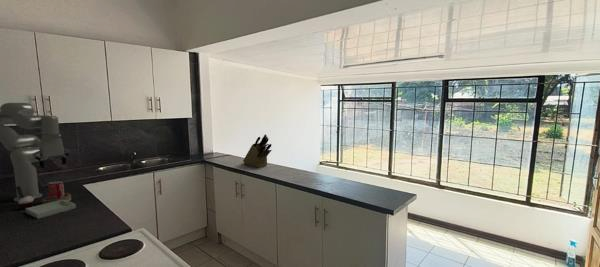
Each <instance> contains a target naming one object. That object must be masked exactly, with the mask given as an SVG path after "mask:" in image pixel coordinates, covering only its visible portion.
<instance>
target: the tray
mask: <svg viewBox="0 0 600 267" xmlns="http://www.w3.org/2000/svg"><path fill="white" fill-rule="evenodd" d="M76 209H77V204H76V203H74V202H72V201H66V200H59V201H54V202H50V203H46V204H38V205H36V206H35V205H33V206H32V207H30V208H26V209H25V213H26V214H27V215H29V216H31V217H33V218H35V219H37V220H39V219H42V218H46V217H50V216H53V215H57V214H61V213H65V212H68V211H72V210H76Z"/></svg>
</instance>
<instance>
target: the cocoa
mask: <svg viewBox="0 0 600 267" xmlns="http://www.w3.org/2000/svg"><path fill="white" fill-rule="evenodd" d="M15 188H17V191H18V193H19V196H20V198H21V199H20V200H19V201H17V206H18V208H19V209H21V210H26V208H30V207H34V202H35V201H34V200H35V199H34V198H33V197H32V196H26V197H24V195H23V193H22V191H21V188H20V186H18V187H16V186H15ZM17 191H16V192H17Z"/></svg>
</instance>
